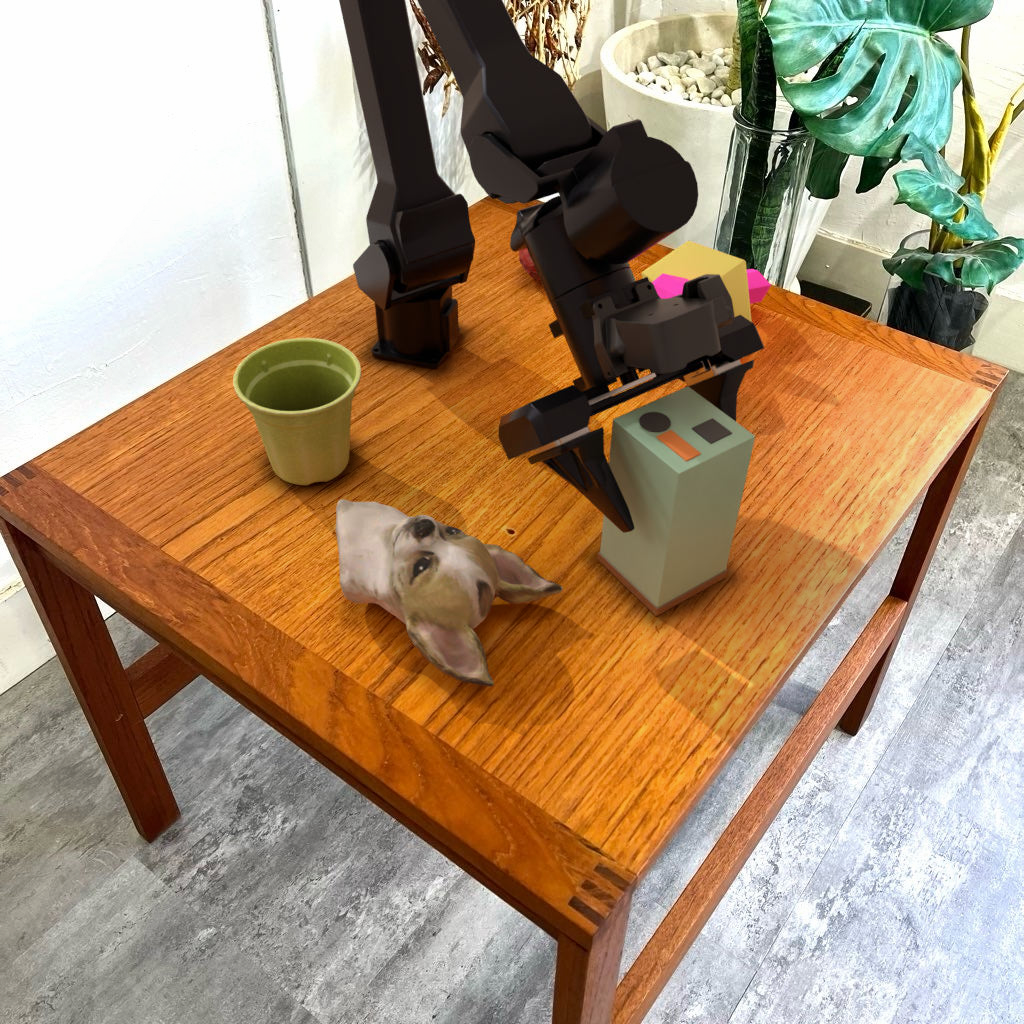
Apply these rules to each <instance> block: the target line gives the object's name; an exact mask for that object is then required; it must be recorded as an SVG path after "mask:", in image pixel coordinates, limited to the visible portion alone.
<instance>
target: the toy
mask: <svg viewBox="0 0 1024 1024" xmlns="http://www.w3.org/2000/svg"><path fill="white" fill-rule="evenodd" d="M705 274H719V275H720V277H721V279H722V280H723V282H724V284H725V286H726V288H727V290H728V292H729V294H730V296H731V298H732V303H733V309H734V317H736V316H738V315H742V316H743V317H745V318H746V319H748V320H749V321H751V322H752V312H751V305H752V304H756V303H761V302H762V301H763V299H764V298H765V297H766V294H767V293H768V292H769V290H770V288H771V286H772V284H771V283H770V282H769V281H768V279H766V277H765V276H764V275H763V274H762V273H761V272H760V271H759V270H757V269H754V268H748V269H747V262H746V260H745V259H743V258H740V257H737V256H734V255H731V254H728V253H725V252H723V251H720V250H717V249H714V248H712V247H708V246H706V245H702V244H700V243H697V242H694V241H691V240H686V241H685V242H684V243H682V244H681V245H679V246H678V247H676V248H675V249H673V250H672V251H671V252H669V253H668V254H666V255H665V256H663V257H662V258H661V259H659V260H658V261H656V262H654V263H653V264H652V265H650V266H649V267H647V268H646V269H644V270H642V272H641V279H643V278H645V277H648V279H649V281H650V282H652V283H653V285H654V287H655V289H656V291H657V294H658V295H659V297H660V298H661V299H667V298H671V297H674V296H677V295H679V294H682V291H683V286H684V283H685V282H687V281H689V280H692V279H695V278H697V277H700V276H702V275H705ZM752 323H753V322H752Z"/></svg>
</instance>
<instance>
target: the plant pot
mask: <svg viewBox="0 0 1024 1024" xmlns="http://www.w3.org/2000/svg"><path fill="white" fill-rule="evenodd" d="M361 378H362V367H361V363H360V360H359V358H358V357H357V356H356V355H355V353H354V352H352V351H351V350H350V349H348V348H347V347H346V346H344V345H341V344H340V343H338V342H335V341H331V340H328V339H324V338H317V337H315V338H314V337H296V338H287V339H282V340H278V341H273V342H271V343H268V344H266V345H263V346H260V348H257V349H256V350H253V351H252V352H251V353H249V354H248V355H247V356H245V357H244V358H243V359H242V361H241V362H240V363H239V364H238V365H237V367H236V370H235V371H234V374H233V378H232V384H233V388H234V391H235V394H236V395H237V397H238V398H239V400H240V401H241V402H242V403H243V404H245V406H246V408H247V410H248V411H249V413H251V415H252V418H253V420H254V422H255V424H256V427H257V430H258V433H259V436H260V438H261V441H262V444H263V447H264V449H265V452H266V454H267V457H268V460H269V463H270V465H271V468H272V470H273V472H274V473H275V475H276V476H277V477H279V478H280V479H281V480H283V481H284V482H286V483H290V484H292V485H298V486H309V485H311V484H314V483H319V482H329V481H332V480H334V479H335V478H337V477H338V476H340V475H341V474H342V473H343V472H344V471H345V469H346V468H347V466H348V463H349V461H350V445H351V427H352V425H351V424H352V423H351V422H352V410H353V408H352V407H353V400H354V399H355V395H356V390H357V387H358V386H359V385H360V382H361Z"/></svg>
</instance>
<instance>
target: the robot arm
mask: <svg viewBox="0 0 1024 1024" xmlns="http://www.w3.org/2000/svg"><path fill="white" fill-rule="evenodd" d="M416 1H417V3H418V5H419V7H420V10H421V11H422V13H423V15H424V17H425V20H426V21H427V23H428V25H429V28H430V29H431V32H432V33H433V37H434V38H435V40H436V42H437V44H438V46H439V47H440V50H441V52H442V54H443V57H444V58H445V61H446V63H447V64H448V67H449V68H450V71H451V73H452V75H453V77H454V79H455V81H456V83H457V86H458V89H459V91H460V95H461V97H462V108H461V117H460V118H461V120H460V131H459V132H460V135H461V138H462V142H463V144H464V146H465V149H466V151H467V154H468V157H469V163H470V164H469V165H470V168H471V171H472V174H473V176H474V178H475V180H476V182H477V184H478V185H479V186H480V187H481V189H483V191H484V192H485V193H486V194H487V196H488V197H489V198H490V199H491V200H498V201H499V202H502V203H504V204H506V205H507V204H508V205H510V204H517V203H520V204H523V205H525V204H528V203H531V202H534V201H538V200H540V199H544V198H547V197H549V196H553V195H556V194H558V195H557V196H555V197H554V196H553V197H552V198H550V199H547V201H545V202H546V203H544V202H541V203H536V204H534V205H531V206H527V207H525V208H521V209H519V210H517V211H516V223H515V226H514V228H513V230H512V232H511V235H510V241H509V243H510V244H509V248H510V249H511V251H512V252H515V253H516V252H519V250H522V249H525V248H527V250H528V252H529V254H530V257H531V259H532V261H533V264H534V266H535V269H536V271H537V273H538V276H539V278H540V279H539V280H540V282H541V285H542V288H543V290H544V292H545V294H546V297H547V300H548V301H549V303H550V306H551V308H552V311H553V313H554V315H555V318H556V319H554V320H553V321H552V322H550V323H549V324H548V327H549V330H550V332H551V334H552V336H553V339H556V338H559V337H562V336H563V337H564V339H565V341H566V343H567V346H568V348H569V351H570V353H571V356H572V358H573V360H574V363H575V364H576V368H577V370H578V372H579V374H580V376H579V377H577V378H574V379H573V380H572V384H571V385H568V386H566V387H564V388H561V389H559V390H557V391H554V392H552V393H550V394H547V395H544V396H542V397H540V398H537V399H535V400H533V401H530V402H528V403H526V404H524V405H522V406H520V407H518V408H516V409H514V410H512V411H510V412H509V413H505V414H504V415H502V416H501V417H500V418H499V419H500V420H499V423H498V439H499V442H500V444H501V446H502V449H503V451H504V453H505V455H506V458H507V460H508V461H510V460H512V459H515V458H518V457H520V456H522V455H525V454H528V453H530V452H533V451H534V452H535V454H534V455H531V456H529V457H527V461H528V463H529V465H531V466H532V465H533V466H534V465H535V464H537V463H542V464H543V465H545V466H546V467H548V468H549V469H550V470H551V471H553V472H554V473H556V474H557V475H558V476H559V477H561V478H562V479H563V480H565V481H566V482H567V483H568V484H570V485H571V486H572V487H574V488H575V490H577V491H578V492H579V493H580V494H581V495H582V496H583V497H585V498H586V499H587V500H588V501H589V502H590V503H591V504H592V505H593V506H594V507H595V508H596V509H597V510H598V511H600V513H602V514H603V516H604V515H605V516H606V517H607V518H608V519H609V520H610V521H611V522H612V523H613V524H614V525H615V526H617V527H618V528H619V529H620V530H621V531H622V532H624V533H626V532H630V531H632V530H634V524H633V520H632V517H631V514H630V511H629V508H628V506H627V503H626V501H625V499H624V497H623V495H622V492H621V490H620V488H619V486H618V484H617V481H616V479H615V477H614V475H613V473H612V470H611V468H610V466H609V461H608V459H607V457H606V455H605V435H604V433H605V431H604V427H603V426H601V427H599V428H597V429H594V430H592V431H591V429H590V428H589V426H588V425H589V422H590V420H591V418H592V417H594V416H596V415H598V414H600V413H603V412H605V411H608V410H610V409H612V408H614V407H616V406H619V405H621V404H623V403H626V402H627V401H630V400H632V399H635V398H636V397H640V396H642V395H644V394H646V393H649V392H651V391H654V390H655V389H658V388H659V387H662V386H664V385H666V384H669V383H671V382H673V381H676V380H679V381H681V382H683V383H685V384H686V386H688V387H690V388H691V389H692V390H694V391H695V392H696V393H698V394H699V395H700V396H702V397H703V398H705V399H706V400H707V401H709V402H710V403H711V404H713V405H714V406H715V407H717V408H718V409H719V410H721V411H722V412H723V413H725V414H726V415H728V416H729V417H730V418H732V419H733V420H734V421H736V422H737V407H738V406H737V405H738V403H737V402H738V393H739V389H740V388H741V385H742V382H743V380H744V379H745V375H746V373H747V372H748V371H749V370H752V369H754V366H755V359H751V360H748V361H747V362H744V363H741V359H744V358H747V357H749V356H750V355H752V354H755V353H758V352H759V351H762V350H764V349H765V348H766V346H765V345H764V343H763V340H762V337H761V335H760V333H759V330H758V327H757V325H756V324H755V323H754V322H751V321H752V320H751V321H749V320H748V319H746V318H745V317H743V316H742V315H738V316H736V317H734V309H733V303H732V298H731V296H730V294H729V292H728V290H727V288H726V286H725V284H724V282H723V280H722V279H721V277H720V275H719V274H705V275H702V276H700V277H697V278H695V279H692V280H689V281H687V282H685V283H684V286H683V291H682V294H679V295H677V296H674V297H671V298H667V299H661V298H660V297H659V295H658V294H657V291H656V289H655V287H654V285H653V283H652V282H650V281H649V279H648V277H645V278H643V279H642V278H641V279H636V278H635V275H634V273H633V271H632V268H631V267H630V263H629V262H631V261H632V260H634V259H636V258H638V256H640V255H643V254H644V253H645V252H646V251H648V250H649V249H651V248H652V247H654V246H655V245H657V244H659V243H660V242H662V241H663V240H665V239H666V238H668V237H669V236H670V235H671V236H672V234H674V233H675V232H677V231H679V230H680V229H682V228H683V227H684V226H685V225H687V224H688V223H689V222H690V220H691V219H692V218H693V216H694V214H695V212H696V209H697V206H698V202H699V201H698V200H699V187H698V184H699V183H698V180H697V177H696V174H695V171H694V169H693V166H692V165H691V163H690V162H689V161H687V160H685V158H684V157H683V156H682V155H681V153H680V152H679V151H678V150H677V149H675V148H674V146H672V145H670V144H668V143H667V142H666V141H664V140H662V139H659V138H656V137H652V136H648V133H647V131H646V128H645V126H644V124H643V122H642V120H641V119H639V118H636V119H633V120H629V121H626V122H622V123H620V124H616V125H613V126H612V127H611V128H609V129H608V130H606V129H605V128H603V126H601V125H599V124H598V123H597V122H596V121H595V120H594V119H592V118H591V117H590V116H588V115H587V114H586V112H585V110H584V109H583V108H582V106H581V104H580V103H579V101H578V100H577V98H576V97H575V95H574V93H573V92H572V91H571V89H570V87H569V85H568V84H567V82H566V81H565V80H564V78H563V77H562V75H561V74H560V73H558V72H557V71H556V70H554V69H552V68H551V67H549V66H548V65H547V64H545V63H544V62H542V61H541V60H539V59H538V58H536V57H535V56H534V55H533V54H532V53H531V52H530V50H529V49H528V48H527V46H526V44H525V43H524V41H523V39H522V38H521V35H520V34H519V31H518V29H517V27H516V25H515V23H514V21H513V19H512V17H511V15H510V13H509V11H508V9H507V7H506V3H505V2H504V1H503V0H416ZM338 2H339V6H340V11H341V16H342V21H343V24H344V30H345V34H346V35H345V36H346V39H347V44H348V49H349V53H350V58H351V62H352V67H353V71H354V77H355V81H356V82H355V83H356V86H357V90H358V96H359V100H360V104H361V110H362V114H363V119H364V123H365V129H366V133H367V137H368V142H369V147H370V151H371V156H372V161H373V166H374V171H375V174H376V175H375V176H376V181H377V182H376V186H375V189H374V191H373V196H372V199H371V201H370V203H369V207H368V211H367V214H366V218H365V222H366V228H367V235H368V236H367V237H368V242H369V245H368V246H367V247H366V248H365V250H363V252H362V253H361V254H360V255H359V256H358V258H357V259H356V260H355V261H354V262H353V264H352V268H353V272H354V276H355V279H356V283H357V287H358V289H359V290H360V291H361V292H362V293H364V294H365V295H366V296H367V297H368V298H369V299H370V300H371V301H372V302H373V303H374V311H375V312H374V313H375V321H376V322H375V323H376V332H377V341H376V342H375V344H374V345H373V346H372V348H371V350H370V354H371V356H372V357H374V358H377V359H382V360H388V361H392V362H393V361H394V362H398V363H404V364H408V365H413V366H418V367H419V366H420V367H425V368H429V369H438V368H439V367H440V366H441V364H442V363H443V361H444V359H445V358H446V356H447V355H448V354H449V353H451V352H452V349H453V348H454V346H455V345H456V343H457V341H458V340H459V338H460V334H461V327H460V325H459V301H458V299H456V298H453V286H456V285H459V284H464V283H467V282H468V277H469V275H470V271H471V265H472V263H473V261H474V257H475V255H474V254H475V250H476V238H475V236H474V233H473V230H472V225H471V221H470V220H471V219H470V213H469V211H470V210H469V203H468V200H466V197H465V196H464V195H463V194H462V193H455V191H453V189H452V188H451V187H450V186H449V185H448V184H447V183H446V181H445V180H444V179H443V178H442V176H441V175H439V173H438V169H437V163H436V158H435V153H434V147H433V142H432V137H431V130H430V126H429V125H430V124H429V121H428V115H427V110H426V105H425V99H424V94H423V88H422V82H421V77H420V72H419V65H418V62H417V56H416V50H415V45H414V39H413V34H412V27H411V24H410V17H409V13H408V7H407V2H406V0H338ZM543 203H544V204H543ZM647 370H649V374H647V375H645V376H642V377H639V374H640V373H643V372H645V371H647ZM618 379H619V381H620V384H621V386H619V387H617V388H613V389H612V390H610V388H609V386H610V385H613V384H615V383H617V382H618Z"/></svg>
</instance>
